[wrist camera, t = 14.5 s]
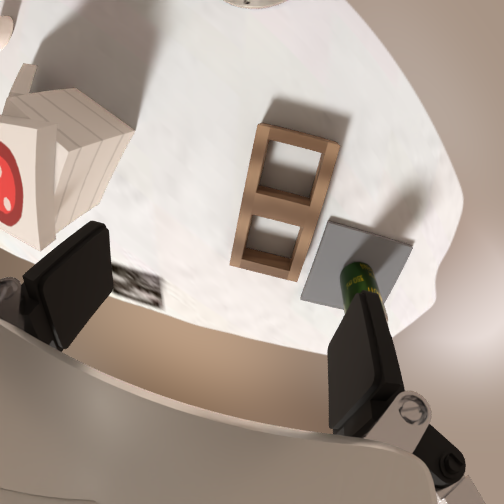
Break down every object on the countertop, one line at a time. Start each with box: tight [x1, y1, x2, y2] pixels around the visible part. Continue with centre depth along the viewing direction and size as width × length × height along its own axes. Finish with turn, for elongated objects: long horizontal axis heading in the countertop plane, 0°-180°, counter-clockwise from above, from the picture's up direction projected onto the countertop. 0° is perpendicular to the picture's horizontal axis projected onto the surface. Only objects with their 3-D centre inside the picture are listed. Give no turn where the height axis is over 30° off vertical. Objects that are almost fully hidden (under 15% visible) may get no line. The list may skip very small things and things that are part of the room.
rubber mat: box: [300, 221, 413, 310], centre depth 43 cm, size 14×14×1 cm
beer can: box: [340, 261, 388, 324], centre depth 37 cm, size 5×5×12 cm
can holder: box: [230, 123, 340, 282], centre depth 38 cm, size 20×10×4 cm, turn 169°
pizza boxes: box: [0, 63, 135, 251], centre depth 31 cm, size 19×30×18 cm, turn 52°
